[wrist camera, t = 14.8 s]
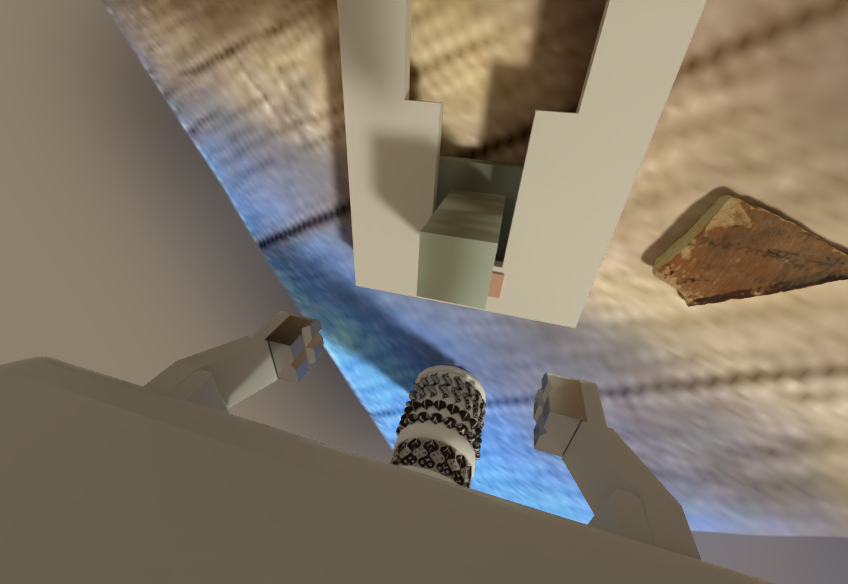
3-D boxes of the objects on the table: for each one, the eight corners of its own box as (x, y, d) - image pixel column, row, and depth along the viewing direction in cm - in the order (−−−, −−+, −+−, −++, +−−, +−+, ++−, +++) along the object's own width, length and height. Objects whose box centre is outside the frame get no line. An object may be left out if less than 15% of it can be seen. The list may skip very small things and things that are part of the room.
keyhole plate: (753, -205, 14) (831, -306, 10) (569, 300, 28) (575, 329, 24) (360, -172, 17) (318, -239, 13) (373, 264, 31) (354, 286, 28)
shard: (864, 262, 21) (889, 275, 20) (753, 336, 26) (767, 351, 24) (724, 186, 21) (739, 193, 20) (635, 273, 26) (642, 284, 24)
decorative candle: (401, 363, 37) (250, 701, 17) (480, 359, 34) (414, 776, 13) (424, 417, 41) (325, 742, 21) (496, 418, 38) (465, 808, 17)
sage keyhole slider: (540, 166, 23) (551, 209, 14) (516, 264, 27) (513, 343, 19) (432, 154, 25) (383, 187, 16) (425, 249, 29) (384, 316, 20)
